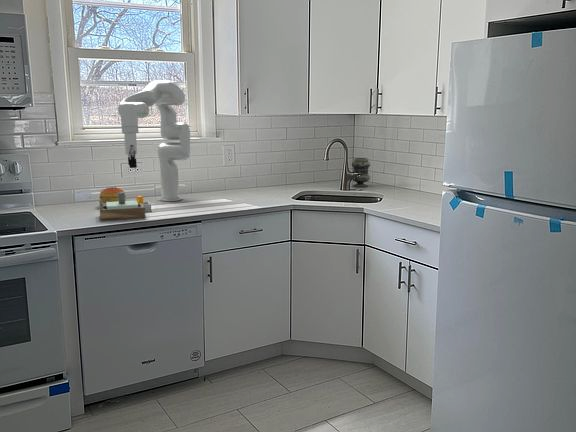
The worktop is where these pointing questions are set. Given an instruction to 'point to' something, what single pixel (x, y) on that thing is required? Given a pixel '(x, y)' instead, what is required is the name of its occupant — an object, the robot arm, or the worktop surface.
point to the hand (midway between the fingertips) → (132, 166)
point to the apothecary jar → (361, 171)
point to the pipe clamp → (139, 199)
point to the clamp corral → (147, 206)
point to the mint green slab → (121, 203)
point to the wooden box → (121, 213)
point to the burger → (110, 195)
